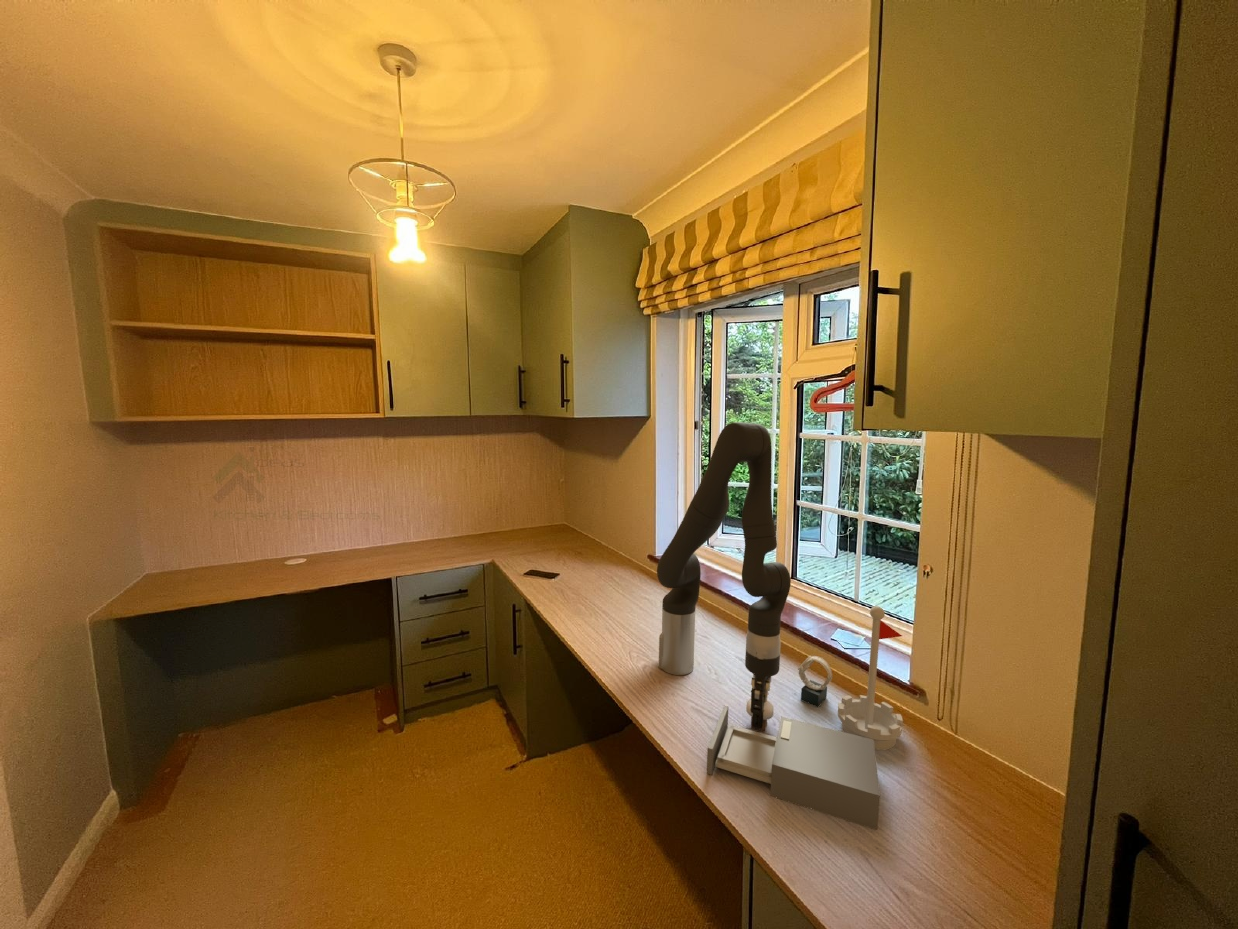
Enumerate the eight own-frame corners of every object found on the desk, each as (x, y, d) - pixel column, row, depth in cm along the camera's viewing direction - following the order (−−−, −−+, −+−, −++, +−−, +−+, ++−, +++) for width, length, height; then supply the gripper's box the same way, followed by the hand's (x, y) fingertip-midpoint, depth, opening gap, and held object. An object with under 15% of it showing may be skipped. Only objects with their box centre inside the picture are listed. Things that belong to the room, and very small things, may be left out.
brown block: (750, 728, 113) (751, 713, 112) (752, 720, 115) (753, 706, 115) (765, 731, 111) (765, 717, 111) (767, 723, 114) (767, 709, 114)
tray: (706, 773, 98) (707, 747, 97) (723, 728, 112) (724, 705, 111) (802, 803, 91) (804, 776, 90) (807, 751, 105) (808, 727, 104)
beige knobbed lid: (744, 715, 112) (744, 708, 111) (748, 701, 117) (748, 694, 117) (771, 722, 109) (771, 715, 109) (774, 708, 115) (775, 701, 114)
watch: (802, 688, 129) (804, 648, 128) (833, 701, 124) (836, 659, 122) (793, 697, 125) (795, 656, 124) (824, 710, 120) (827, 668, 118)
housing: (770, 795, 93) (772, 763, 92) (779, 744, 107) (780, 715, 107) (877, 830, 86) (880, 794, 85) (871, 769, 100) (873, 738, 99)
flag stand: (828, 734, 111) (837, 607, 108) (846, 708, 121) (855, 591, 117) (892, 762, 102) (904, 624, 99) (906, 732, 112) (917, 606, 109)
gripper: (751, 633, 119) (748, 698, 121) (740, 660, 106) (737, 732, 108) (783, 639, 116) (779, 705, 118) (776, 667, 103) (772, 742, 105)
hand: (759, 718), depth 113 cm, fingers closed on beige knobbed lid, 6 cm apart
